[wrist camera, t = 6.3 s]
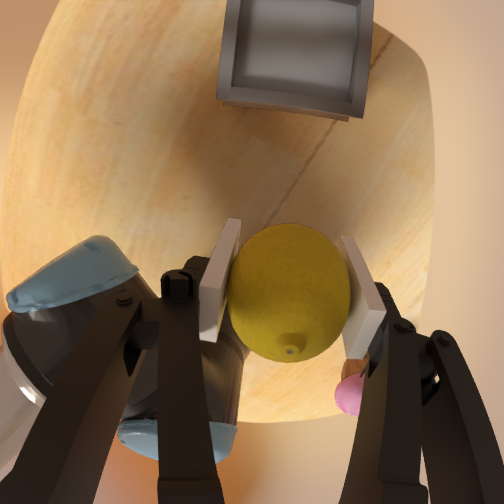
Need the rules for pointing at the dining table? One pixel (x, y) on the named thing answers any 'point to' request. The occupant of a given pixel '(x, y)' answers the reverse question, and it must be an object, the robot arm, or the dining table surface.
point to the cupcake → (351, 386)
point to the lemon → (288, 293)
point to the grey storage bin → (297, 56)
